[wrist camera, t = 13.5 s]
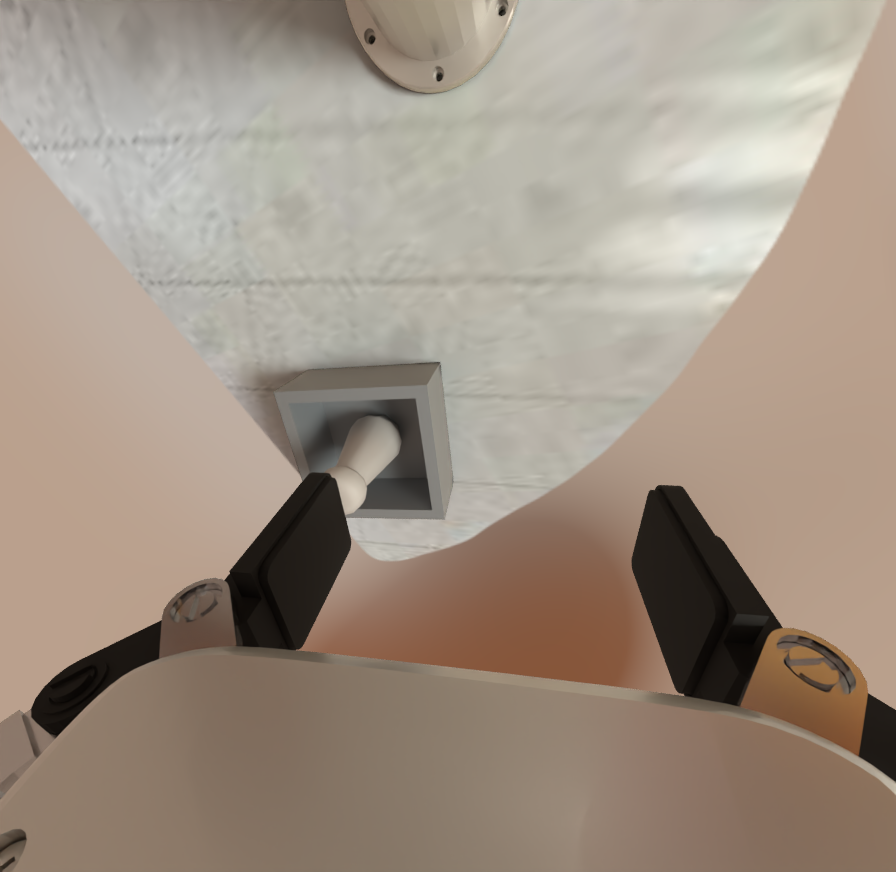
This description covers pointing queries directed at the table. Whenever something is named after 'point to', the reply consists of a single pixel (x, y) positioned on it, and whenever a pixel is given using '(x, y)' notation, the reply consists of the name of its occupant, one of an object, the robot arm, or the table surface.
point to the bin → (376, 393)
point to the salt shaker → (364, 458)
